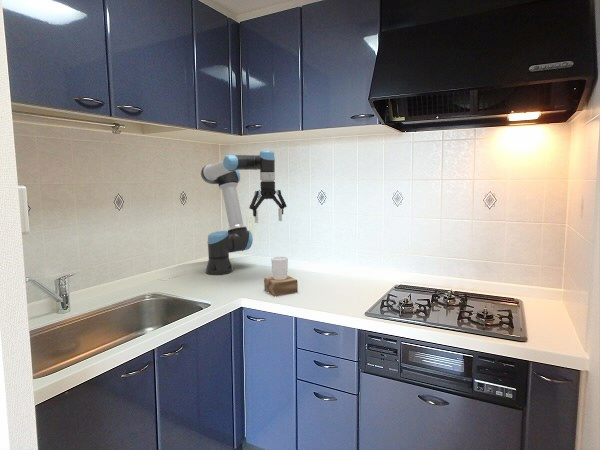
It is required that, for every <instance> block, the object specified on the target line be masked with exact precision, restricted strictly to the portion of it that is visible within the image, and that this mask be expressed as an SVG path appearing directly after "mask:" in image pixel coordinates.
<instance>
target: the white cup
mask: <svg viewBox="0 0 600 450" xmlns="http://www.w3.org/2000/svg"><path fill="white" fill-rule="evenodd" d="M288 262H289V257H287V256H282V255H281V256H280V255H279V256H273V257H271V270H272V271H271V272H272V277H273V279H274V280H285V279H287V275H288V268H289V267H288V265H289V263H288Z"/></svg>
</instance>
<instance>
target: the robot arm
mask: <svg viewBox="0 0 600 450" xmlns="http://www.w3.org/2000/svg"><path fill="white" fill-rule="evenodd" d="M259 151H260V152H259V154H258V155H255V154H253V155H251V154H246V155H245V154H243V155H242V154H225V156H224V157H223V159H222V160H220V161H217V162H215V163H214V164H213V163H212V164H211V163H209V164H206V165H204V166H203V167H202V169H201V171H200V177H201V178H202V180H203V181H204V182H205V183H207V184H210V185H218V189H220V190H221V191H222V195H223V201H224V207H225V212H226V218H227V222H228V226H229V227H228V229H227V230H218V231H215V232H211V233H209V234H208V236H207V252H208V261H207V264H206V268H205V271H206V274H208V275H212V276H220V275H221V276H222V275H226V274H227V275H228V274H230V273H233V270H234V269H233V265H232V262H231V260H230V253H236V252H243V251H249V249H251V247H252V245H253V241H254V240H253V239H254V238H253V233H252V232H251V230H248V227H247V226H245V224H244V221H243V216H242V211H241V206H240V200H239V196H238V191H237V187H238V185H239V182H240V180H241V174H240V171H241V170H242V171H243V170H244V171H247V170H251V171H252V170H253V171H258V170H259V172H260V173H259V174H260V175H259V177H260V178H259V179H260V190H255V191H254V196H253V197H252V200H251V203H250V204H249V210H252V216H253V217H254V223H255V224H259V210H258V208H259V207H260V206H261V204H262V203H263V201H264V200H273V202H274V203H276V205H277V206H278V221H279V222H283V215H284V209H285V208H287V203H286V201H285V199H284V197H283V196H282V191H281V189H276V182H275V180H276V172H275V171H276V169H275V167H276V165H275V164H276V161H275V160H276V157H275V152H274V151H273V150H259ZM260 195H261V196H260ZM275 195H277V196H275ZM259 196H260V197H259ZM258 198H259V199H258Z"/></svg>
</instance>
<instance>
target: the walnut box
mask: <svg viewBox="0 0 600 450" xmlns="http://www.w3.org/2000/svg"><path fill="white" fill-rule="evenodd" d="M263 283H264V284H263V285H264V288H263V289H264V291H265V292H267V293H268V292H269V293H268V294H270V295H272V296H273V297H275V296H276V297H279V296H285V295H290V294H291V295H292V294H296V293H298V292H299V291H298V289H299V288H298V287H299V286H298V284H299V283H298V279H296V278H294V277H292V276H289V275H288V274H287V279H285V280H274V279H273V276H267V277H264V278H263Z"/></svg>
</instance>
